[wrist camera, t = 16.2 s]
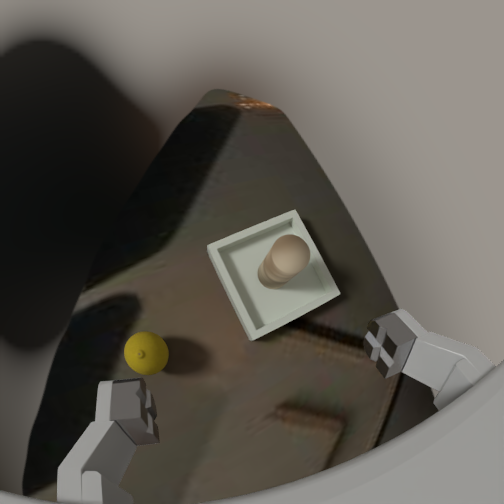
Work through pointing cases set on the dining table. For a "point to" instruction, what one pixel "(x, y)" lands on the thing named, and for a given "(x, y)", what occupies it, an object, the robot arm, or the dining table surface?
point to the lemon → (146, 353)
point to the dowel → (283, 261)
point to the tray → (249, 287)
